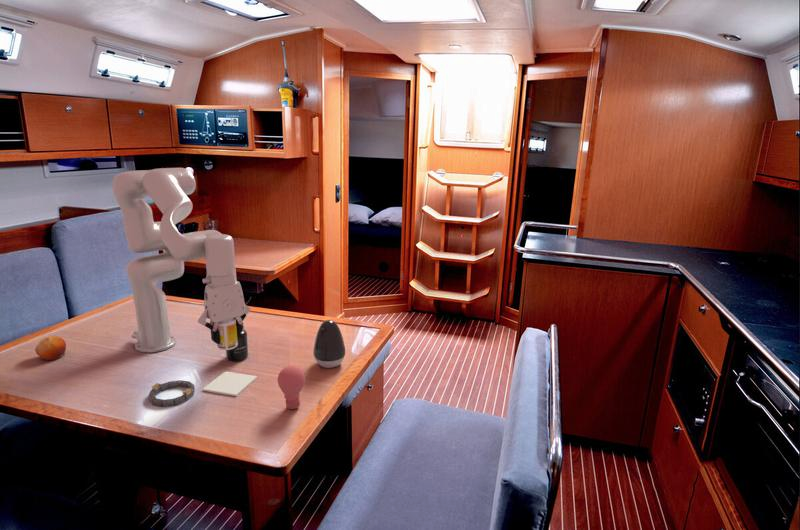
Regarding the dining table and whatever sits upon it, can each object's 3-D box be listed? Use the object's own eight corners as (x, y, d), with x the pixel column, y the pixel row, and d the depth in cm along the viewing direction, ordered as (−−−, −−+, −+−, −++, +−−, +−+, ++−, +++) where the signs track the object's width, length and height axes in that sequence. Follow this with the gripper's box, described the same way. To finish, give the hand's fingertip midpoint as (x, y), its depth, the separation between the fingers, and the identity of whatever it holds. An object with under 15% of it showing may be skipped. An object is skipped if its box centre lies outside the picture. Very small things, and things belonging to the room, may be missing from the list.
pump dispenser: (307, 368, 149) (305, 324, 145) (323, 355, 158) (322, 312, 154) (336, 374, 145) (335, 329, 141) (350, 360, 155) (350, 317, 151)
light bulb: (281, 400, 130) (279, 361, 127) (307, 399, 131) (305, 360, 128) (277, 415, 124) (274, 374, 120) (304, 414, 124) (302, 373, 121)
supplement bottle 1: (239, 342, 138) (237, 309, 135) (236, 350, 133) (233, 316, 130) (219, 343, 137) (216, 310, 135) (215, 351, 132) (212, 317, 129)
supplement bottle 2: (241, 363, 151) (239, 328, 148) (222, 360, 152) (219, 326, 149) (252, 353, 158) (250, 320, 155) (233, 351, 159) (231, 318, 156)
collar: (139, 403, 128) (138, 395, 127) (169, 382, 138) (168, 375, 138) (175, 409, 125) (174, 401, 124) (202, 388, 136) (202, 380, 135)
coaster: (202, 390, 134) (202, 388, 134) (225, 373, 145) (225, 371, 145) (236, 396, 132) (236, 394, 132) (257, 378, 142) (257, 376, 142)
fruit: (76, 351, 154) (58, 335, 149) (53, 369, 150) (34, 354, 145) (70, 343, 159) (51, 328, 154) (48, 361, 155) (28, 346, 150)
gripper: (196, 288, 121) (203, 352, 126) (257, 276, 133) (260, 334, 138) (185, 282, 126) (191, 344, 131) (244, 270, 138) (248, 327, 143)
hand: (227, 338), depth 134 cm, fingers closed on supplement bottle 1, 5 cm apart
